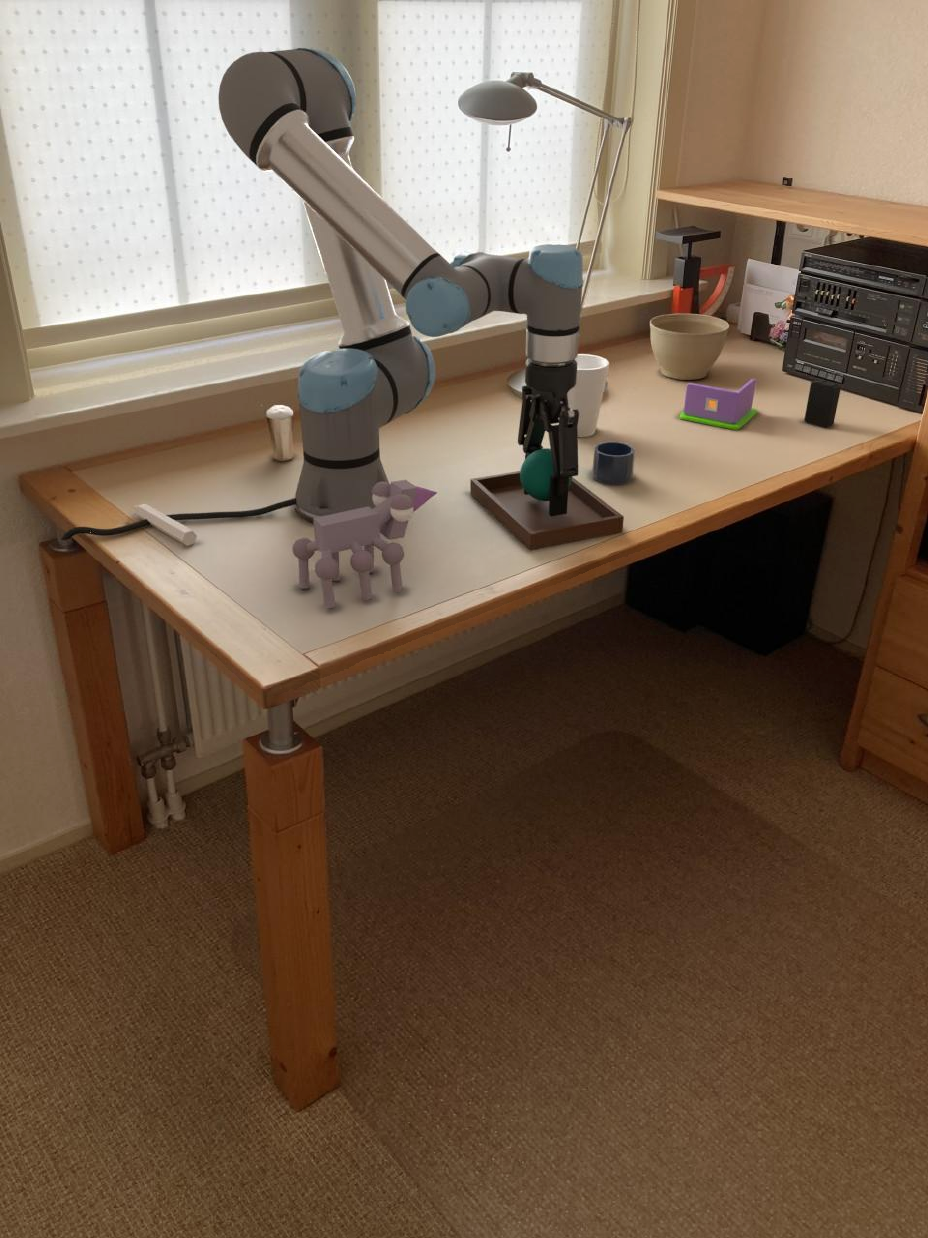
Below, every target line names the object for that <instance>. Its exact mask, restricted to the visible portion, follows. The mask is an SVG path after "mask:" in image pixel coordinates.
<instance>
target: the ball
mask: <svg viewBox="0 0 928 1238" xmlns="http://www.w3.org/2000/svg"><path fill="white" fill-rule="evenodd" d="M519 471H520V479H521V483H522V486H523V488H524V490H525V491H526V492H527V493H528V494H529V495H530V496H531V497H533V498H535V499H537V500H540V501H550V480H551V477H550V475H551V474H554V469H553V462H552V455H551V448H542V449H539V450H536V451H534V452H533V453H531V454H530V455H529V456H528V457H527V458H526V459H525V458H524V461H523V462H522V465H521V467H520V470H519ZM572 477H573V476H572ZM572 477H569V487H570V485H571V482H572ZM569 487H568V488H569Z"/></svg>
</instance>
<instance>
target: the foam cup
mask: <svg viewBox="0 0 928 1238" xmlns="http://www.w3.org/2000/svg"><path fill="white" fill-rule="evenodd" d="M575 360H576V362H577V380H576V385H575V386H574V387H573V388H572V389H570V390H569V391H568V393H567V395H568V403H569V406H568V407H569V408H570V409H571V410H575V409H577V410H578V411H579V419H578V425H577V429H578V438H585V437H586V438H587V437H591V436H593V435H595V433H596V429H597V426H598V421H599V416H600V411H601V407H602V403H603V398H604V394H605V387H606V383H607V379H608V377H609V371H610V362H609V360H608V359H607V358H605V357H602V356H600V355H595V354H588V353H578V356H577V358H576V359H575Z"/></svg>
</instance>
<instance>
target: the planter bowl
mask: <svg viewBox="0 0 928 1238" xmlns="http://www.w3.org/2000/svg"><path fill="white" fill-rule="evenodd" d="M649 328H650V344H651V350H652V353H653V356H654V358H655V360H656V362H657V364H658V365H659V367H660V372H661V374H662V375H663V376H665V377H667V378H671V379H675V380H681V381H693V380H700V379H703V378H705V377H706V376H707V375H708V372H709V370H710V369H711V368H712V366H713V365H714V364H715V363H716V362H717V360H718V359H719V357H720V355H721V353H722V351H723V350H724V347H725V344H726V341H727V335H728V332H729V329H730V323H728V322H727V321H726V320H724V319H721V318H719V317H716V316H712V315H707V314H698V313H669V314H662V315H657V316H655V317H653V318H651V319H650V321H649Z"/></svg>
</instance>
